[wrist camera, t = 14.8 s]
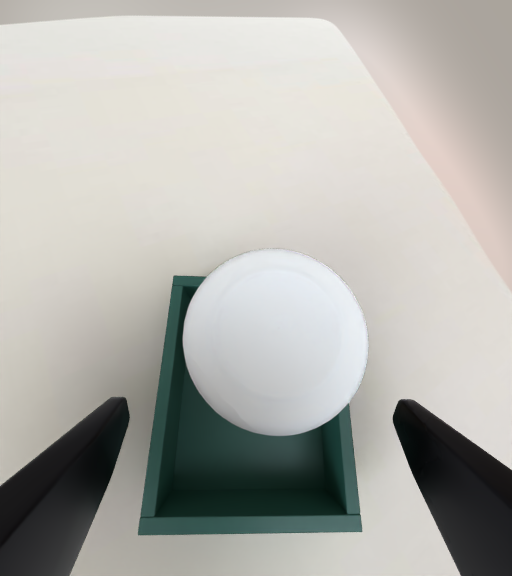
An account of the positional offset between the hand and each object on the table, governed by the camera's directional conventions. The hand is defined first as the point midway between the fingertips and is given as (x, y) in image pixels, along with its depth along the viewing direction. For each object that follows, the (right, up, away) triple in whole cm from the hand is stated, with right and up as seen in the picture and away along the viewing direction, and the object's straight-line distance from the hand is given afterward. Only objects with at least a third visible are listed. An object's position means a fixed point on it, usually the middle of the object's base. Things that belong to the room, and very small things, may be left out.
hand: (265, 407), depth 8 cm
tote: (-1, -3, +10) cm, 11 cm away
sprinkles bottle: (-1, -2, +10) cm, 10 cm away
